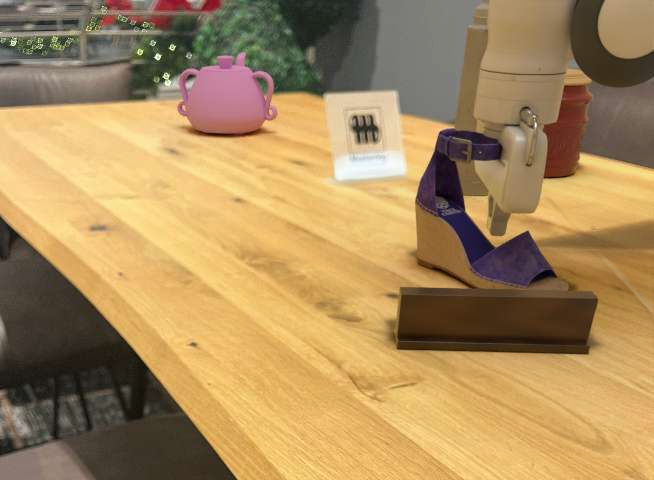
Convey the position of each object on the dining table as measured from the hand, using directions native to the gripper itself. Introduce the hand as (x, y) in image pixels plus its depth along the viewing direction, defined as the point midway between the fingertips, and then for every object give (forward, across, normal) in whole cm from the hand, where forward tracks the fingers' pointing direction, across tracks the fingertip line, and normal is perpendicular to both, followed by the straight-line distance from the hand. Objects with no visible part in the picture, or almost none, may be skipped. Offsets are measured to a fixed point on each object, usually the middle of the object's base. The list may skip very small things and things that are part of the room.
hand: (495, 232), depth 89 cm
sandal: (+4, -4, +1) cm, 6 cm away
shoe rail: (+4, -22, +4) cm, 23 cm away
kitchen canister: (+4, +53, -18) cm, 56 cm away
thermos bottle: (+4, +38, -4) cm, 39 cm away
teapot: (+4, +88, +41) cm, 97 cm away
